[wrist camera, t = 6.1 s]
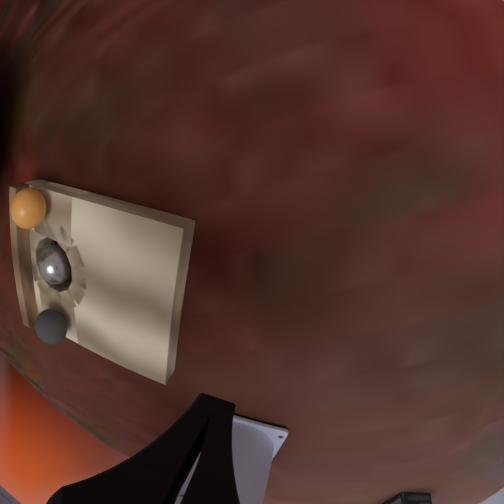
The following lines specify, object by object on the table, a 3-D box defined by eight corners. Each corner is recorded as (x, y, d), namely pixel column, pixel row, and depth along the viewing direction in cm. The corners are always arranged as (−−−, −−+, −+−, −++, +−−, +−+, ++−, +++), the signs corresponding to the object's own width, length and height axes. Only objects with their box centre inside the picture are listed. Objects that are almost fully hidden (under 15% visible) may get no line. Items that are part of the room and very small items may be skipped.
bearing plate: (174, 369, 23) (157, 397, 20) (45, 308, 25) (23, 324, 22) (195, 220, 19) (172, 235, 15) (39, 179, 20) (9, 186, 17)
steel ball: (47, 258, 22) (78, 269, 23) (33, 285, 20) (66, 297, 21) (46, 231, 20) (79, 243, 21) (30, 258, 18) (65, 271, 19)
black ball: (75, 338, 22) (55, 356, 19) (52, 325, 22) (32, 341, 20) (72, 310, 21) (49, 328, 18) (48, 298, 21) (25, 313, 19)
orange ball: (53, 227, 19) (25, 238, 16) (31, 218, 19) (4, 228, 16) (54, 187, 18) (24, 195, 15) (31, 181, 18) (3, 188, 15)
